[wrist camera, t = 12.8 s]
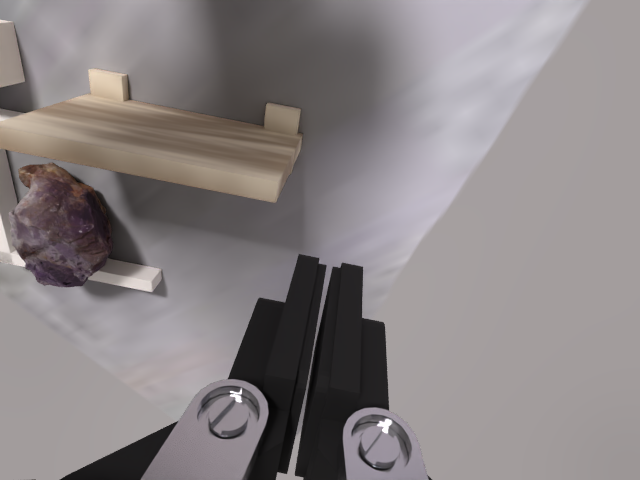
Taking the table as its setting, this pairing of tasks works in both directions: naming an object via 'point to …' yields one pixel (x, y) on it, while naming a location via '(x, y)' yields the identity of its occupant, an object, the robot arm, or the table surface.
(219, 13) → the table surface
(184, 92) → the table surface
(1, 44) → the letter cube
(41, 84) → the table surface
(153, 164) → the shelf
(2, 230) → the corral
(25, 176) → the rock
